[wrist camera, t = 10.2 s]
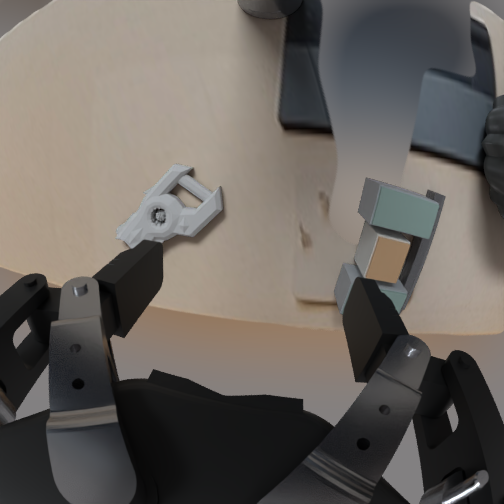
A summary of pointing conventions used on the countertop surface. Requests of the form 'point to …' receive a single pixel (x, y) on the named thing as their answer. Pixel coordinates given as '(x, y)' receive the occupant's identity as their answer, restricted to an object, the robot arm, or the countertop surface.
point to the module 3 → (352, 272)
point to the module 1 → (397, 209)
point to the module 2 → (381, 253)
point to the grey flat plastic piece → (170, 210)
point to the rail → (419, 252)
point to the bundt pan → (495, 153)
